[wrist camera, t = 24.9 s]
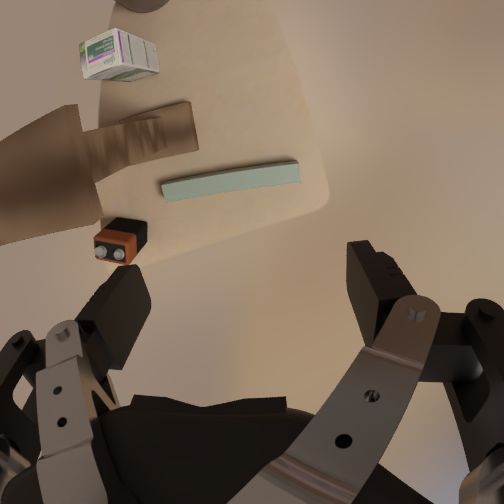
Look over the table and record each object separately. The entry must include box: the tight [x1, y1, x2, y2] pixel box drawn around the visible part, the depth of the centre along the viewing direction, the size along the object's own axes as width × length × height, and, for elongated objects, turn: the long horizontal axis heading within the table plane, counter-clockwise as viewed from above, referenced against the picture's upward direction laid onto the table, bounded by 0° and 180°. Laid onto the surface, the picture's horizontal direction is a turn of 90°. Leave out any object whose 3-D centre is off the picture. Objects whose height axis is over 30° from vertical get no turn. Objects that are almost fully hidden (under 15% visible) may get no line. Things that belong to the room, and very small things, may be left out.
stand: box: [0, 102, 199, 246], centre depth 30 cm, size 8×12×32 cm, turn 98°
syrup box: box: [79, 28, 159, 82], centre depth 32 cm, size 6×6×14 cm
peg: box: [161, 161, 301, 202], centre depth 47 cm, size 3×22×3 cm, turn 99°
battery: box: [94, 217, 147, 265], centre depth 48 cm, size 4×7×10 cm, turn 81°
